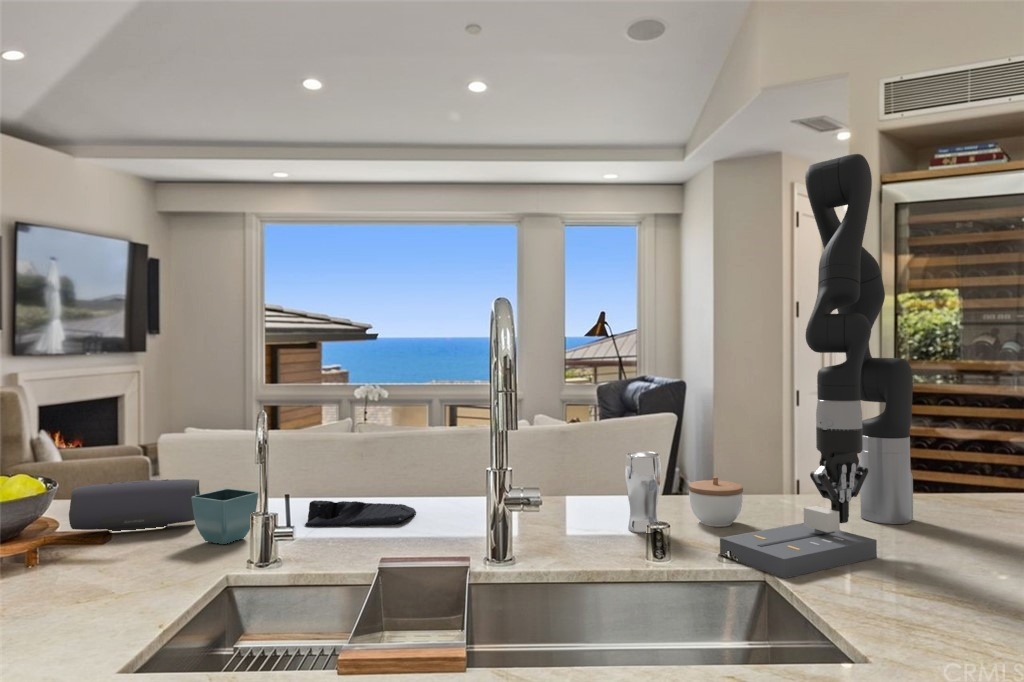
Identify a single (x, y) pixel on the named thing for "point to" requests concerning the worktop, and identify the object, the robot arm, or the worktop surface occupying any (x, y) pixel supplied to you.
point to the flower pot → (224, 514)
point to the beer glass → (642, 488)
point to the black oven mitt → (356, 513)
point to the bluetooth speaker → (132, 504)
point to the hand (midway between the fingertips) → (840, 522)
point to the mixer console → (798, 549)
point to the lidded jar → (715, 501)
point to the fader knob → (821, 519)
